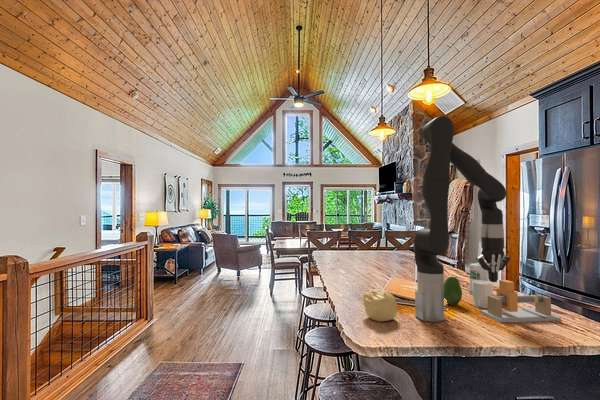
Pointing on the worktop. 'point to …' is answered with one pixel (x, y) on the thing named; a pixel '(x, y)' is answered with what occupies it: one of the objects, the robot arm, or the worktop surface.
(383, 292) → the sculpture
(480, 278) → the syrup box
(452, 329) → the worktop surface
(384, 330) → the worktop surface
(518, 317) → the pipe stand
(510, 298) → the collar
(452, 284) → the avocado
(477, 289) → the white cup
